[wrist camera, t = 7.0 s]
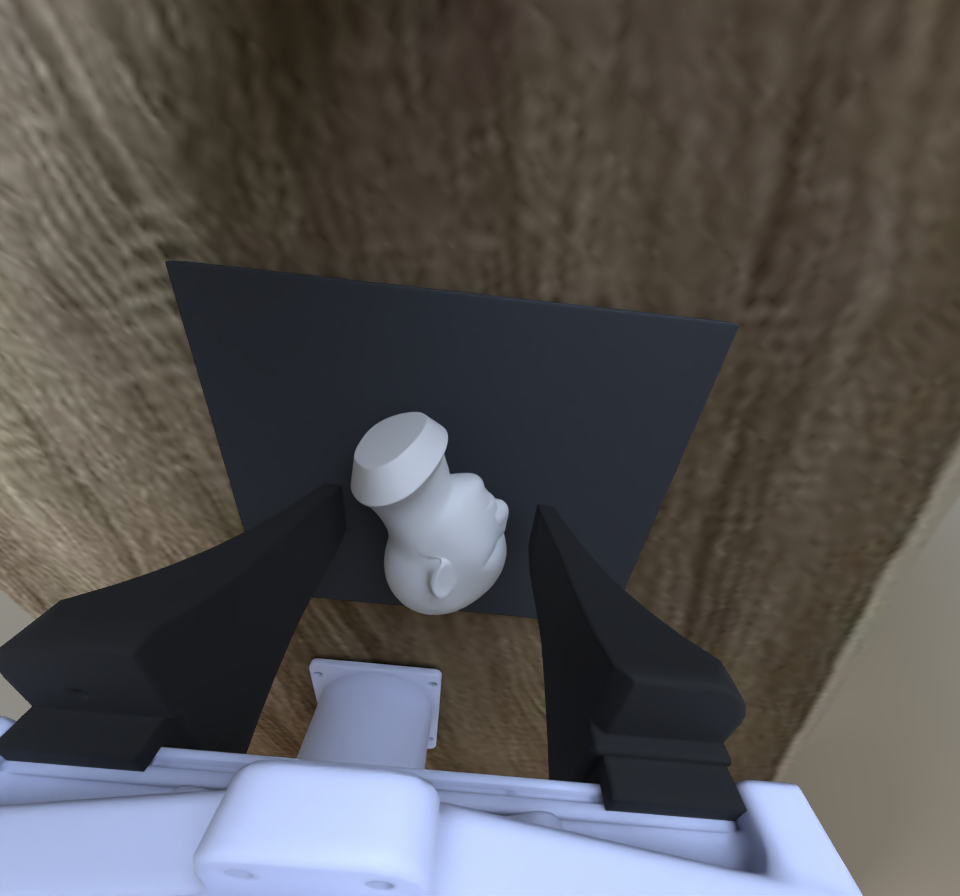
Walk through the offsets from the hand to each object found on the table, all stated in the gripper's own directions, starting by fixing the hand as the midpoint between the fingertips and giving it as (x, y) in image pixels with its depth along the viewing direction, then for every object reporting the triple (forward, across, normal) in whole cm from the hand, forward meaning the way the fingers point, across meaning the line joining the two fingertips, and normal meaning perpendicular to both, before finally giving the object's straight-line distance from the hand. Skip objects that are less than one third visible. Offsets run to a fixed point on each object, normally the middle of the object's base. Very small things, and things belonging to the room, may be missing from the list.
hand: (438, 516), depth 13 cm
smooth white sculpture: (+2, 0, 0) cm, 2 cm away
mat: (+2, 0, 0) cm, 2 cm away
